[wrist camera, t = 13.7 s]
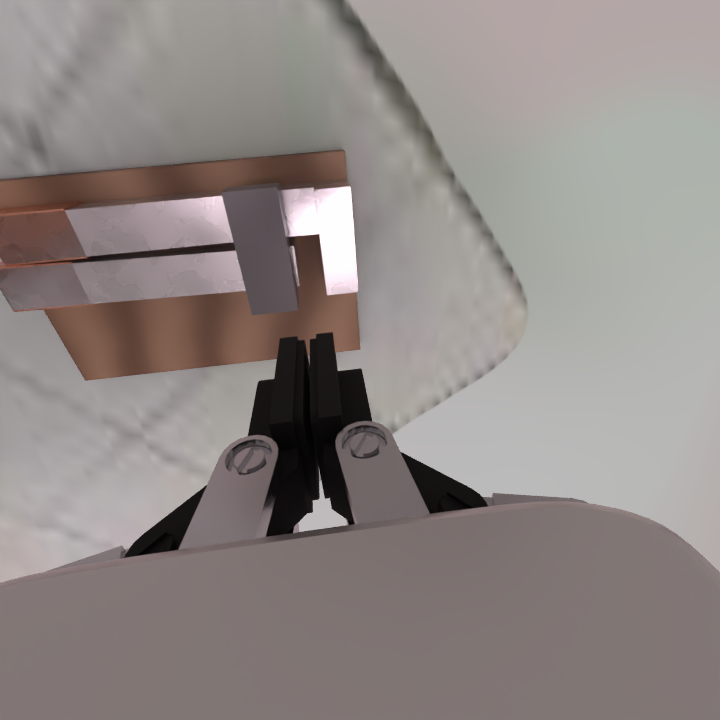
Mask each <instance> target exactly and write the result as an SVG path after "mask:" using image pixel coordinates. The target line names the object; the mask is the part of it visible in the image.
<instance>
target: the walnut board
mask: <svg viewBox="0 0 720 720" xmlns="http://www.w3.org/2000/svg"><path fill="white" fill-rule="evenodd" d="M339 179H347V175H346V163H345V151H344V150H335V151H323V152H312V153H301V154H289V155H278V156H266V157H255V158H243V159H232V160H220V161H209V162H197V163H186V164H174V165H163V166H151V167H140V168H129V169H117V170H106V171H94V172H83V173H71V174H60V175H48V176H37V177H25V178H14V179H2V180H0V209H1V208H12V207H23V206H34V205H45V204H56V203H67V202H78V201H83V203H86V202H97V201H108V200H119V199H130V198H141V197H152V196H163V195H174V194H185V193H196V192H207V191H218V190H224V189H225V188H226V187H235V186H246V185H257V184H268V183H279V185H284V184H295V183H306V182H317V181H328V180H339ZM292 237H295V240H296V247H297V254H298V261H299V269H300V286H298V287H297V290H298V296H299V310H297V311H288V312H279V313H269V314H260V315H252V313H251V309H250V305H249V301H248V297H247V293H246V291H239V292H227V293H215V294H203V295H192V296H180V297H168V298H156V299H144V300H132V301H120V302H108V303H97V304H93V305H90V306H78V307H66V308H54V309H44V311H45V313H46V315H47V316H48V318H49V320H50V321H51V323H52V325H53V326H54V328H55V330H56V331H57V333H58V335H59V337H60V338H61V340H62V342H63V343H64V345H65V347H66V348H67V350H68V352H69V354H70V355H71V357H72V359H73V360H74V362H75V364H76V365H77V367H78V369H79V371H80V372H81V374H82V376H83V377H84V379H85V381H86V380H95V379H103V378H112V377H121V376H130V375H139V374H148V373H156V372H165V371H174V370H183V369H192V368H201V367H209V366H218V365H227V364H236V363H245V362H254V361H262V360H271V359H277V356H278V348H279V340H280V338H285V337H293V336H298V339H299V340H305V343H306V349H307V355H310V339H315V338H316V334H320V333H328V332H333V337H334V345H335V352H342V351H351V350H360V338H359V326H358V313H357V301H356V292H354V293H345V294H335V295H327V291H326V283H325V275H324V267H323V259H322V251H321V243H320V235H319V234H313V235H303V236H292Z"/></svg>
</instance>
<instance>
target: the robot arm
mask: <svg viewBox="0 0 720 720" xmlns="http://www.w3.org/2000/svg"><path fill="white" fill-rule="evenodd" d="M319 470H320V475H321V480H322V485H323V490H324V496H325V498H330V501H331V506H332V509H333V510H334V511H336V512H337V513H339V514H340V515H342V516H343V517H344V518H346V520H347V525H346V526H340V527H332V528H325V529H318V530H311V531H304V532H299V524H298V522H299V521H300V520H301V519H302V518H303V517H304V516H305V515H306V514H307V513H312V512H313V502H312V501H313V500H318V499H319ZM0 720H720V572H719V571H718V570H717V569H716V568H715V567H714V566H713V565H712V564H711V563H710V562H708V561H707V560H706V559H705V558H704V557H703V556H702V555H701V554H700V553H699V552H698V551H697V550H695V549H694V548H693V547H692V546H691V545H690V544H688V543H687V542H686V541H685V540H683V539H682V538H681V537H679V536H678V535H677V534H676V533H674V532H672V531H671V530H669V529H668V528H666V527H665V526H663V525H661V524H659V523H657V522H655V521H653V520H651V519H649V518H645V517H643V516H640V515H637V514H634V513H631V512H627V511H624V510H620V509H616V508H611V507H606V506H601V505H596V504H589V503H587V502H585V501H582V500H577V499H573V498H559V497H543V496H527V495H513V494H498V493H493V495H492V498H490V497H482V496H481V495H480V494H478V493H477V492H476V491H474V490H473V489H471V488H469V487H467V486H465V485H464V484H462V483H460V482H458V481H456V480H454V479H452V478H450V477H448V476H446V475H444V474H442V473H440V472H438V471H436V470H435V469H433V468H430V467H429V466H427V465H425V464H423V463H421V462H419V461H417V460H415V459H413V458H411V457H409V456H408V455H406V454H404V453H401V452H400V450H399V448H398V446H397V444H396V442H395V440H394V438H393V436H392V434H391V433H390V431H389V430H388V429H387V428H386V427H385V426H383V425H382V424H379V423H376V422H372V418H371V413H370V408H369V403H368V398H367V393H366V388H365V383H364V378H363V374H362V369H353V370H345V371H338V370H337V362H336V354H335V345H334V337H333V332H328V333H320V334H316V338H315V339H310V366H309V360H308V355H307V349H306V343H305V340H299V339H298V336H293V337H285V338H280V340H279V348H278V356H277V364H276V371H275V379H271V380H262V381H259V382H258V385H257V390H256V396H255V401H254V406H253V412H252V417H251V422H250V428H249V433H248V436H247V437H244V438H241V439H238V440H237V441H235V442H233V443H232V444H230V445H229V446H228V447H227V448H226V449H225V450H224V451H223V453H222V454H221V456H220V458H219V460H218V462H217V464H216V467H215V469H214V471H213V473H212V476H211V478H210V480H209V482H208V485H206V486H205V487H204V488H202V489H201V490H200V491H199V492H197V493H196V494H195V495H193V496H192V497H191V498H190V499H188V500H187V501H186V502H184V503H183V504H182V505H180V506H179V507H178V508H177V509H175V510H174V511H173V512H171V513H170V514H169V515H168V516H166V517H165V518H164V519H162V520H161V521H160V522H158V523H157V524H156V525H155V526H153V527H152V528H151V529H149V530H148V531H147V532H146V533H144V534H143V535H142V536H141V537H140V538H139V539H138V540H136V541H135V542H134V543H133V545H132V546H131V547H130V548H129V549H126V550H125V549H124V548H123V547H122V546H120V547H117V548H114V549H111V550H108V551H105V552H102V553H99V554H96V555H93V556H90V557H87V558H84V559H81V560H78V561H76V562H73V563H70V564H67V565H64V566H61V567H58V568H55V569H52V570H49V571H46V572H43V573H38V574H33V575H28V576H24V577H20V578H17V579H13V580H9V581H5V582H2V583H0Z"/></svg>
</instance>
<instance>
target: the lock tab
mask: <svg viewBox="0 0 720 720" xmlns="http://www.w3.org/2000/svg"><path fill="white" fill-rule="evenodd" d="M221 194H222V198H223V202H224V206H225V210H226V214H227V218H228V222H229V226H230V230H231V234H232V238H233V242H234V246H235V250H236V254H237V258H238V261H239V265H240V269H241V273H242V277H243V281H244V285H245V289H246V293H247V297H248V301H249V305H250V309H251V313H252V315H260V314H269V313H279V312H288V311H297V310H299V296H298V290H297V284H296V278H295V272H294V266H293V261H292V255H291V249H290V243H289V237H288V231H287V225H286V220H285V214H284V208H283V202H282V196H281V190H280V185H279V183H268V184H257V185H246V186H235V187H226V188H225V189H224V190H223V191H222V192H221Z"/></svg>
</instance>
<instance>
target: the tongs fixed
mask: <svg viewBox="0 0 720 720" xmlns="http://www.w3.org/2000/svg"><path fill="white" fill-rule="evenodd" d="M280 190H281V196H282V202H283V208H284V214H285V220H286V225H287V231H288V237H292V236H303V235H313V234H319V235H320V243H321V251H322V259H323V267H324V275H325V283H326V291H327V295H335V294H345V293H354V292H358V279H357V266H356V252H355V239H354V226H353V213H352V199H351V186H350V184H349V182H348V180H347V179H339V180H328V181H317V182H306V183H295V184H284V185H280ZM222 191H223V190H218V191H207V192H196V193H185V194H174V195H163V196H152V197H141V198H130V199H119V200H108V201H97V202H86V203H83V201H78V202H67V203H56V204H45V205H34V206H23V207H12V208H1V209H0V257H1V259H2V261H3V262H4V264H5V266H12V265H23V264H33V263H43V262H53V261H63V260H74V259H84V258H88V257H90V256H98V255H108V254H118V253H129V252H139V251H149V250H159V249H170V248H180V247H190V246H200V245H211V244H221V243H231V242H233V238H232V234H231V230H230V226H229V222H228V218H227V214H226V210H225V206H224V202H223V198H222V194H221V192H222Z"/></svg>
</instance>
